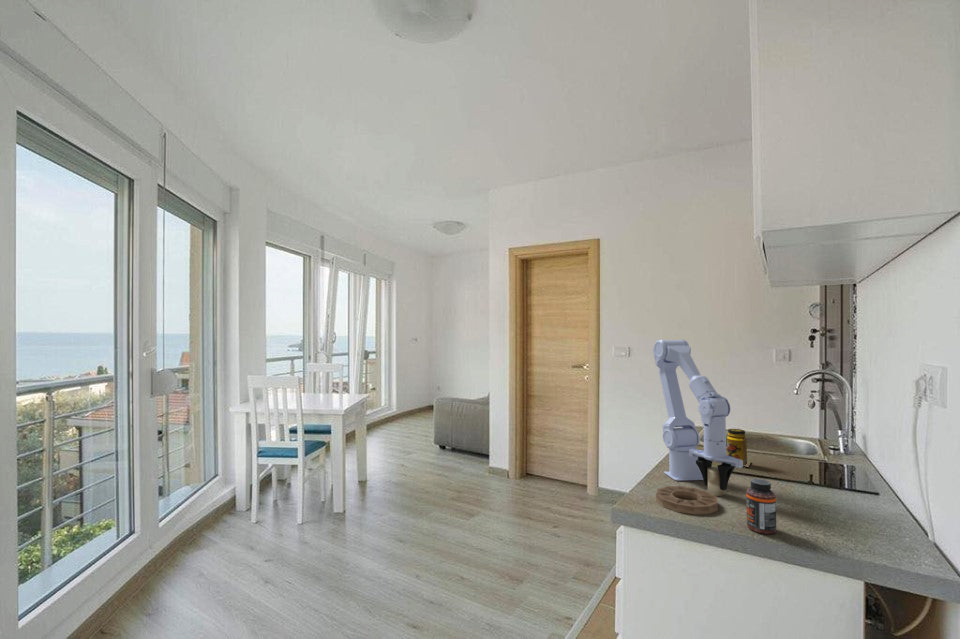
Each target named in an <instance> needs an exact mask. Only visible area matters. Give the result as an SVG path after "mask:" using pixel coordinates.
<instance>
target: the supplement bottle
mask: <svg viewBox="0 0 960 639" xmlns="http://www.w3.org/2000/svg"><path fill="white" fill-rule="evenodd" d="M771 484H772V483H771V481H768V480H766V479H761V478H753V479H751V480H750V487H748V488H747V489H746V494H745V495H746V496H745V497H746V498H745V499H746V502H745V503H746V504H745V505H746V525H747V528H748V529H749V530H751V531H753V532H755V533H758V534H763V535H773V534H775V533H776V532H777V498H776V497H777V496H776V493H775V492H774V491H773V490H771V489H772V486H771Z"/></svg>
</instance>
